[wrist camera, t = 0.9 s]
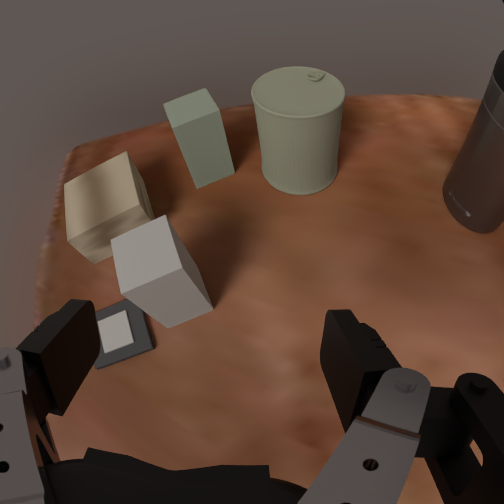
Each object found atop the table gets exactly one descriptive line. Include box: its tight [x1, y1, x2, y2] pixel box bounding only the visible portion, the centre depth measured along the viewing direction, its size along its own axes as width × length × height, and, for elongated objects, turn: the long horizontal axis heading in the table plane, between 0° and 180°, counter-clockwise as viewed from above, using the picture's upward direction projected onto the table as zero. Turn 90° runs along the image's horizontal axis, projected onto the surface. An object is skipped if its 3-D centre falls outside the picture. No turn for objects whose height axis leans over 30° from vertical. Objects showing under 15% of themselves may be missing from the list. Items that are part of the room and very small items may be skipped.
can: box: [251, 66, 345, 195], centre depth 33 cm, size 9×9×12 cm
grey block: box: [111, 215, 214, 328], centre depth 28 cm, size 5×5×10 cm
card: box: [94, 299, 154, 370], centre depth 31 cm, size 7×6×1 cm
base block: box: [64, 151, 155, 264], centre depth 36 cm, size 9×9×6 cm
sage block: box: [163, 88, 235, 189], centre depth 36 cm, size 5×5×10 cm
